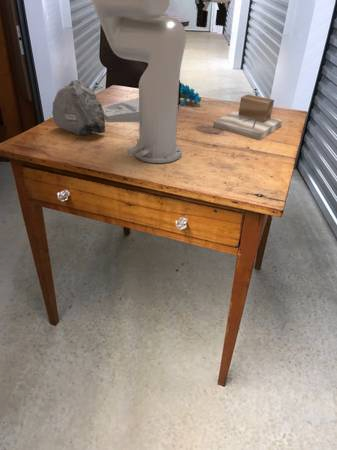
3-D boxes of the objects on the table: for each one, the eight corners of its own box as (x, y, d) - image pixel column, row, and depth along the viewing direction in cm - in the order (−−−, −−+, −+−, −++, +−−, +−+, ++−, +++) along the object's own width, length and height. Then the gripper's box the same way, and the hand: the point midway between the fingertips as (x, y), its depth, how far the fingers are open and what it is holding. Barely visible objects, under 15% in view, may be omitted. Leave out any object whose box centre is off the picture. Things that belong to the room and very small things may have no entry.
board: (259, 139, 106) (260, 133, 105) (213, 127, 113) (213, 120, 112) (281, 126, 116) (282, 120, 115) (237, 115, 124) (238, 109, 123)
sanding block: (263, 122, 112) (267, 103, 109) (238, 116, 117) (241, 97, 113) (270, 118, 116) (274, 99, 112) (245, 112, 120) (248, 94, 117)
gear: (206, 101, 131) (191, 82, 124) (198, 115, 131) (182, 97, 124) (188, 98, 139) (172, 80, 132) (179, 111, 139) (163, 94, 132)
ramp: (86, 120, 115) (84, 103, 112) (104, 106, 128) (103, 91, 125) (171, 130, 111) (172, 113, 108) (181, 115, 123) (182, 99, 120)
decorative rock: (108, 136, 104) (105, 82, 95) (92, 143, 99) (87, 87, 90) (67, 124, 111) (60, 72, 102) (51, 130, 106) (42, 76, 97)
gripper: (211, -53, 86) (204, 29, 95) (247, -46, 97) (237, 26, 107) (186, -52, 89) (182, 26, 99) (223, -46, 101) (216, 24, 110)
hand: (211, 26), depth 103 cm, fingers open, 9 cm apart
